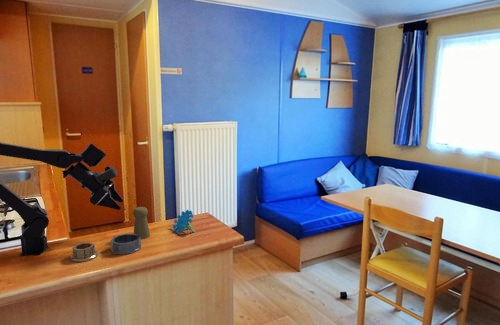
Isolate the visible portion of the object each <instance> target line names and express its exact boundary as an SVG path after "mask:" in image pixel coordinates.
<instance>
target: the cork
mask: <svg viewBox="0 0 500 325" xmlns="http://www.w3.org/2000/svg"><path fill="white" fill-rule="evenodd" d="M148 212H149V210H148V208H146V207H145V206H138V207H135V208H134V209H133V211H132V215H133V217H134V225H133V234H138V235H139V236H140V237H141V240H145V239H148V238H150V237H151V232H150V228H149V223H148V222H149V221H148V217H147V216H148Z"/></svg>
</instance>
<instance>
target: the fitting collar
mask: <svg viewBox="0 0 500 325" xmlns="http://www.w3.org/2000/svg"><path fill="white" fill-rule="evenodd" d="M110 248H111V249H110V251H111V253H112V254H114V255H118V256H119V255H120V256H121V255H124V256H125V255H130V254H134V253H137V252H138V251H140V250H141V249H142V239H141V237H140V236H139V235H138V234H134V232H133V233H132V232H131V233H123V234H118V235H116V236H113V237H112V238H111V239H110ZM136 251H137V252H136Z"/></svg>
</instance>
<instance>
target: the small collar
mask: <svg viewBox="0 0 500 325" xmlns="http://www.w3.org/2000/svg"><path fill="white" fill-rule="evenodd" d="M98 255H99V252H98V251H97V250H96V248H95V243H93V242H88V241H87V242H80V243H78V244H75V245H73V246H72V254H71V256H70V261H71V262H74V263H84V262H90V261H92V260H95V259H96V258H97V257H98Z"/></svg>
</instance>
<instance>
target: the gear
mask: <svg viewBox="0 0 500 325" xmlns="http://www.w3.org/2000/svg"><path fill="white" fill-rule="evenodd" d="M194 216H195V215H194V214H193V211H192V210H189V209H186V210H185V211H184V210H183V211H181V214H178V215H177V216H176V218H177V219H174V220H173V223H175V224H172V227H171V228H173V232H175V233H177V234H180V233H181V232H185V230H186V229H187V230H188V231H192V232H193V233H196V231H195V229H193V226H192V225H191V223H193V218H194Z"/></svg>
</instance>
